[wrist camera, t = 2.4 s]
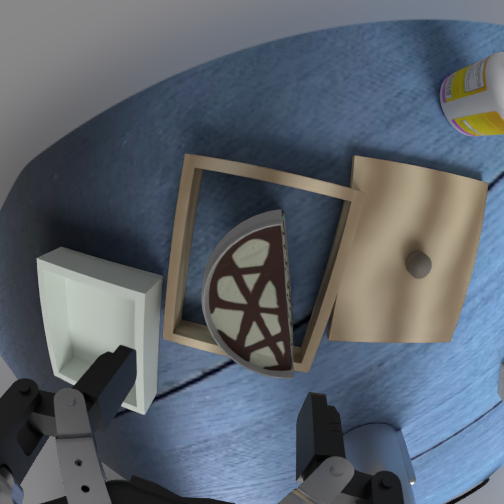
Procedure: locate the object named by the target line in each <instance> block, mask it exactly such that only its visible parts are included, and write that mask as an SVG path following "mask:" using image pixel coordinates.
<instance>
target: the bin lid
mask: <svg viewBox="0 0 504 504" xmlns="http://www.w3.org/2000/svg"><path fill="white" fill-rule="evenodd" d="M350 188H352V189H356V190H359V191H362V192H365V193H366V195H365V199H364V203H363V207H362V211H361V215H360V218H359V222H358V226H357V229H356V233H355V237H354V240H353V244H352V247H351V251H350V254H349V257H348V261H347V264H346V267H345V271H344V274H343V277H342V280H341V283H340V286H339V289H338V292H337V296H336V299H335V302H334V304H333V309H332V314H331V319H330V324H329V329H328V334H327V337H328V340H329V341H349V342H382V343H433V342H450V341H451V338H452V336H453V333H454V330H455V327H456V325H457V322H458V319H459V316H460V313H461V310H462V307H463V303H464V300H465V297H466V293H467V290H468V286H469V283H470V279H471V275H472V271H473V267H474V263H475V259H476V255H477V250H478V245H479V240H480V235H481V230H482V224H483V218H484V212H485V205H486V197H487V189H488V183H486V182H483V181H479V180H475V179H471V178H467V177H464V176H459V175H455V174H451V173H447V172H443V171H438V170H434V169H429V168H424V167H419V166H414V165H409V164H404V163H398V162H393V161H387V160H381V159H375V158H368V157H361V156H352V167H351V179H350Z"/></svg>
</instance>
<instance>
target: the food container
mask: <svg viewBox="0 0 504 504" xmlns="http://www.w3.org/2000/svg"><path fill="white" fill-rule="evenodd" d="M201 301H202V310H203V314H204V317H205V321H206V324H207V326H208V329H209V331H210V333H211V335H212V337H213V338H214V340H215V341H216V343H217V344H218V346H219V347H220V348H221V349H222V350H223V351H224V352H225V353H226V354H227V356H229V357H230V358H231V359H232V360H234V361H235V362H236V363H238V364H239V365H241V366H243V367H245V368H246V369H248V370H251V371H253V372H256V373H258V374H261V375H265V376H269V377H275V378H287V379H294V366H293V317H292V297H291V284H290V271H289V259H288V247H287V236H286V225H285V215H284V213H282V211H281V209H278V210H273V211H267V212H264V213H261V214H258V215H255V216H253V217H251V218H249V219H247V220H245V221H243V222H241V223H240V224H238V225H237V226H236V227H234V228H233V229H232V230H230V231H229V232H228V233H227V234H226V235H225V236H224V237H223V238H222V239H221V240H220V242H219V243H218V244H217V246H216V247H215V249H214V250H213V252H212V253H211V255H210V258H209V260H208V262H207V265H206V268H205V272H204V276H203V283H202V295H201Z"/></svg>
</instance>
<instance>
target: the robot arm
mask: <svg viewBox="0 0 504 504" xmlns="http://www.w3.org/2000/svg"><path fill="white" fill-rule="evenodd" d="M136 378H137V353H136V350H135V349H132V348H129V347H127V346H124V345H119V346H118V348H117V349H116V350H115V351H114V352H113V353H112V352H109V351H107V352H106V353H104V354H102V355H100V356H99V357H98V358H97V359H96V360H95V361H94V363H93V364H92V365H91V366H90V367H89V369H88V370H87V371H86V372H85V373H84V374H83V375H82V377H81V378H80V379H79V380H78V381H77V383H76V384H75V385H74V386H73V387H72V388H65V389H62V390H60V391H58V392H57V393H51V392H46V391H42V390H39V388H38V385H37V384H36V382H34V381H33V380H31V379H26V378H23V379H19V380H17V381H15V382H14V383H13V384H12V385H11V387H10V388H9V389H8V390H7V391H6V392H5V393H4V395H3V396H2V397H1V398H0V504H22V501H23V497H24V492H23V489H22V487H21V486H20V484H21V482H22V481H23V479H24V477H25V476H26V474H27V472H28V471H29V469H30V467H31V466H32V463H33V462H34V461H35V459H36V457H37V456H38V454H39V452H40V451H41V449H42V447H43V446H44V444H45V443H46V441H47V440H48V438H49V436H53V437H56V446H57V453H58V458H59V464H60V469H61V474H62V479H63V484H64V488H65V492H66V496H64V497H61V498H58V499H55V500H52V501H48V502H45V503H41V504H235V503H230V502H225V501H220V500H215V499H210V498H188V497H181V496H178V495H176V494H175V493H173V492H171V491H169V490H167V489H165V488H164V487H162V486H160V485H158V484H156V483H153V482H150V481H147V480H145V479H142V478H139V477H136V476H134V475H133V476H132V478H131V480H111V481H107V478H106V476H105V473H104V470H103V467H102V464H101V460H100V456H99V452H98V449H97V445H96V441H95V437H94V433H95V431H96V430H97V429H99V430H102V431H104V432H105V431H106V429H107V428H108V426H109V424H110V423H111V421H112V419H113V418H114V416H115V415H116V413H117V411H118V410H119V408H120V407H121V405H122V403H123V402H124V400H125V398H126V397H127V395H128V394H129V392H130V390H131V389H132V387H133V386H134V384H135V381H136ZM296 482H303V483H302V484H301V485H300V486H299V487H298V488H296V489H294V490H293V491H291V492H290V493H289V494H288V495H287V496H286V497H285V498H283V499H282V500H281V501H280V502H279V503H278V504H416V503H415V499H414V495H413V491H412V487H411V486H412V485H413V484H414V483H415V482H416V477H415V473H414V470H413V466H412V463H411V459H410V456H409V453H408V450H407V446H406V443H405V440H404V437H403V434H402V431H397V430H395V429H394V428H393V427H392V426H390V425H387V424H380V423H376V424H368V425H364V426H360V427H357V428H355V429H353V430H351V431H349V432H347V433H346V434H344V435H343V434H342V427H341V420H340V415H339V413H338V412H337V410H336V408H335V407H334V406H327V399H326V395H325V394H319V393H312V392H309V393H308V395H307V397H306V399H305V401H304V404H303V406H302V408H301V410H300V412H299V415H298V418H297V424H296Z"/></svg>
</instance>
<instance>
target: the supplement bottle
mask: <svg viewBox="0 0 504 504" xmlns="http://www.w3.org/2000/svg"><path fill="white" fill-rule="evenodd" d="M440 102H441V107H442V110H443V112H444V114H445V116H446V118H447V120H448V121H449V123H450V124H451V125H452V126H453V127H454V128H455V129H456V130H457V131H459V132H460V133H462V134H465V135H468V136H484V135H498V134H504V52H498V53H496V54H493V55H491V56H489V57H487V58H485V59H482V60H480V61H478V62H476V63H474V64H471V65H469V66H467V67H465V68H463V69H461V70H459V71H457V72H455V73H453V74H451V75H449V76H448V77H447V78H446V79H445V80H444V81H443V83H442V86H441V89H440Z"/></svg>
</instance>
